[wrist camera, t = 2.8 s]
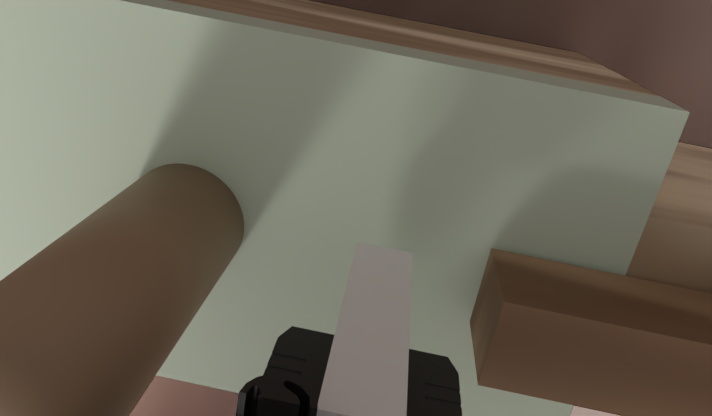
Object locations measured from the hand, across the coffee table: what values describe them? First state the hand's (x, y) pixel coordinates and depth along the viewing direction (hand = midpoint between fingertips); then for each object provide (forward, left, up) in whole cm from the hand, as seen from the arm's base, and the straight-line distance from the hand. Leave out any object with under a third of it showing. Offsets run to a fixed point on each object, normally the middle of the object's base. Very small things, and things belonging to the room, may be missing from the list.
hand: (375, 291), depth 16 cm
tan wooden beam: (0, -8, -2) cm, 8 cm away
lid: (0, +6, -4) cm, 7 cm away
